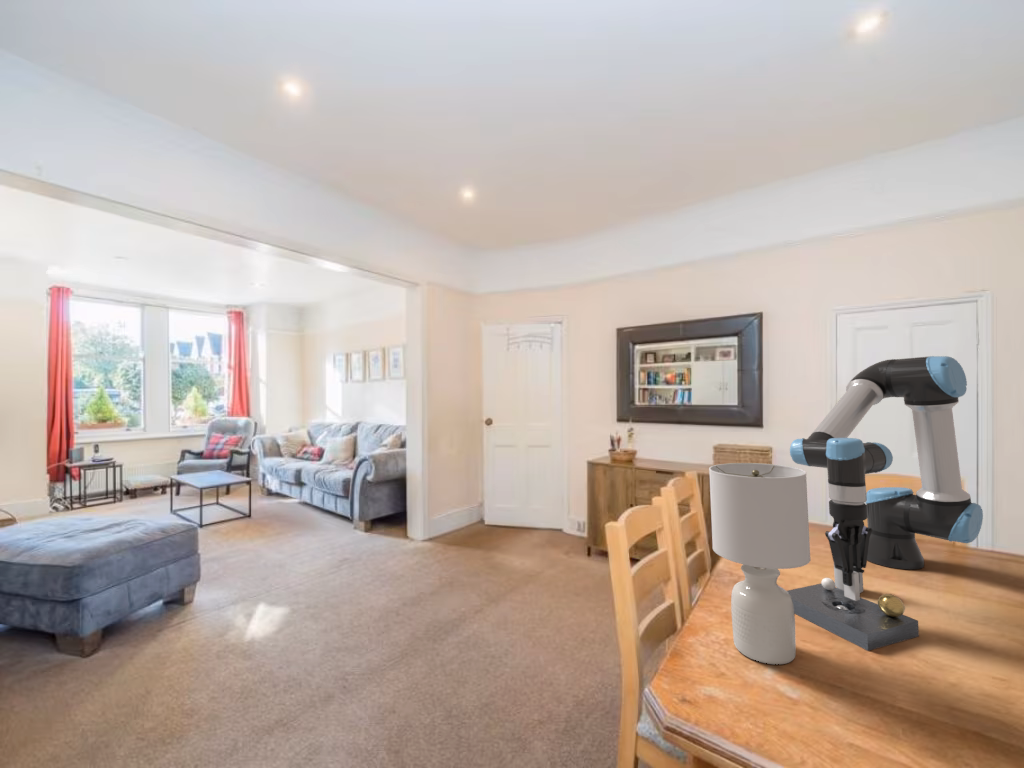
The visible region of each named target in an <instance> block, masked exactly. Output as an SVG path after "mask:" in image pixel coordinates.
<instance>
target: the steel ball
mask: <svg viewBox="0 0 1024 768" xmlns="http://www.w3.org/2000/svg"><path fill="white" fill-rule="evenodd" d="M835 607H837V608H840V609H844V610H849V609H848V608H847V607H845V606H842V605H837V606H835Z"/></svg>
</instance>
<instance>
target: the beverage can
mask: <svg viewBox="0 0 1024 768" xmlns="http://www.w3.org/2000/svg"><path fill="white" fill-rule="evenodd" d="M861 569H862V570H863V568H861ZM863 574H864V573H861V572H859V577H860V579H859V580H860V583H859V591H860V594H862V593H863V592H864V576H863ZM833 576H834V582H835V587H836V588H839V589H841V590H844V584H843V575H842V570H839V569H836V568H835V566H834V565H833Z"/></svg>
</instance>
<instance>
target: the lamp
mask: <svg viewBox="0 0 1024 768" xmlns="http://www.w3.org/2000/svg"><path fill="white" fill-rule="evenodd" d="M708 473H709V492H710V494H709V495H710V496H709V497H710V514H711V515H710V517H711V520H710V521H711V537H712V550H713V552H714V553H715V554H717V556H719V557H722V558H723V559H726V560H728V561H731V562H733V563H736V564H741V566H740V569H741V571H742V573H743V575H744V580H741V581H738V582H737V583H735V584H734V586H732V587H733V588H732V590H731V596H730V597H731V600H730V603H731V604H730V605H731V611H730V613H731V623H732V624H731V625H732V637H733V643H734V646H735V648H736V649H737V650H738V651H739V653H741V654H742V655H744V656H745V657H747V658H748V659H751V660H753V661H755V660H756V662H758V661H759V663H762V664H766V663H767V664H768V665H775V664H776V665H777V666H778V664H779V665H784V664H785V665H786V664H789V663H791V662H792V661H793V660H794V659H795V658H796V653H797V649H796V646H797V645H796V644H797V643H796V618H795V615H796V614H794V606H793V601H792V598H791V596H790V594H789V593H788V592H787V591H788V590H786V589H785V588H783V587H782V586H781V585H779V584H777V583H778V582H777V580H778V578H779V577H780V575H781V572H780V571H781V570H782V569H783V570H787V569H796V568H802V567H804V566H807V565H808V564H810V562H811V549H810V548H811V545H810V525H809V504H808V503H809V502H808V487H807V486H808V485H807V471H806V470H804V469H801V468H799V467H793V466H789V465H781V464H772V463H770V464H769V463H753V462H741V463H740V462H739V463H738V462H736V463H733V462H732V463H720V464H715V465H711V466H709V468H708ZM767 664H766V665H767Z"/></svg>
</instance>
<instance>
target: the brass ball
mask: <svg viewBox="0 0 1024 768" xmlns="http://www.w3.org/2000/svg"><path fill="white" fill-rule="evenodd" d="M877 604H878V606H879V608H880V610H881V611H882V612H883V613H884V614H886V615H888V616H891V617H899V616H901V615H902V614H903V615H904V613H905V610H906V607H905V604H904V603H903V600H901V599H900V598H899V597H898V596H896V595H895V594H891V593H884V594H882V595H880V596H879V597H878V598H877Z"/></svg>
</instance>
